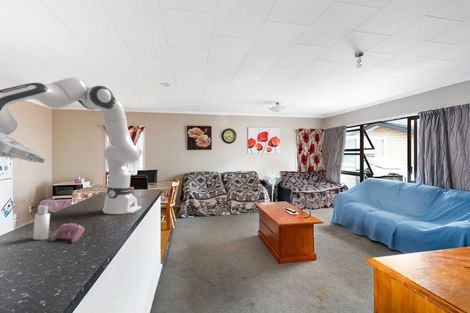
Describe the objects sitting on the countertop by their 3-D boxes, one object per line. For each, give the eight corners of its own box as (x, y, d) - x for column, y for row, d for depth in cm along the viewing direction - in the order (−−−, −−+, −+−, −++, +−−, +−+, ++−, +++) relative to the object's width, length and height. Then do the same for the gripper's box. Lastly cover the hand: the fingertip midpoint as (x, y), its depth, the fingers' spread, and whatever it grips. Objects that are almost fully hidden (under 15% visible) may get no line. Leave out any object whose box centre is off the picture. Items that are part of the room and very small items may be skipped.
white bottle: (38, 236, 86) (41, 204, 86) (50, 237, 85) (52, 205, 85) (30, 238, 83) (33, 206, 83) (42, 240, 82) (44, 207, 82)
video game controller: (81, 244, 84) (88, 225, 87) (72, 242, 80) (81, 223, 83) (57, 242, 85) (65, 223, 88) (47, 240, 81) (56, 220, 84)
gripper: (-19, 128, 77) (22, 144, 78) (22, 144, 96) (54, 157, 98) (-32, 144, 75) (10, 160, 77) (13, 157, 95) (46, 170, 96)
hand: (35, 158), depth 87 cm, fingers open, 8 cm apart
